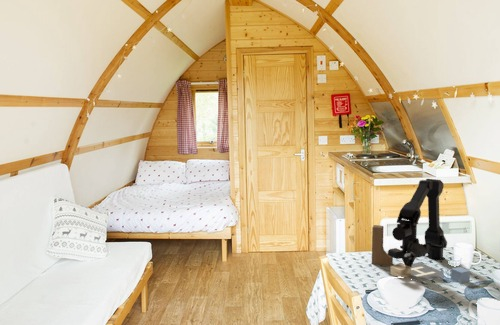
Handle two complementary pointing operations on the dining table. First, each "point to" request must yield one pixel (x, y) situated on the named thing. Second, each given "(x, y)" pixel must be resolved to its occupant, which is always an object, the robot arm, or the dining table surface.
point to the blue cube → (460, 275)
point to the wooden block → (379, 248)
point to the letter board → (424, 272)
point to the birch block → (401, 270)
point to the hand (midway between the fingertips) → (408, 270)
